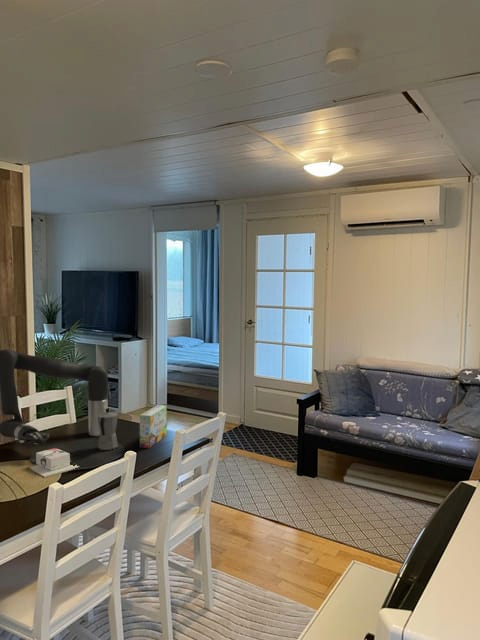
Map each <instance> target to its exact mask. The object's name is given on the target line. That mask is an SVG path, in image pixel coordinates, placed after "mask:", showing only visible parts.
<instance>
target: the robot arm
mask: <svg viewBox="0 0 480 640" xmlns="http://www.w3.org/2000/svg"><path fill="white" fill-rule="evenodd" d="M15 370H21V371H27V372H30V373H33V374H36V375H39V376H43V377H46V378H53V379H63V380H64V379H67V380H68V379H70V380H71V379H74V380H75V379H76V380H80V381H85V382H87V383H88V384H87V385H88V387H87V388H88V389H87V390H88V392H87V398H88V400H87V402H88V403H87V405H88V406H87V407H88V411H87V412H88V413H87V414H88V435H89V436H91V437H92V436H93V437H99V435H100V430H99V423H98V417H97V415H98V414H101V413H105V412H106V409H107V408H108V407H109V404H108V397H109V396H108V395H109V379H108V378H109V376H108V373H107V371H106V369H105V368H103V367H102V366H100V365H87V364H86V365H85V364H78V363H77V362H76V363H75V362H72V361H70V360H69V361H68V360H64V359H60V358H55V357H48V356H41V355H31V354H25V353H22V352H19V351H18V352H17V351H15V350H12V349H9V348H4V349H1V350H0V406H1V414H2V415H5V416H7V415H8V416H13V418H12V419H11V418H10V419H6V420H2V421H1V422H0V435H2V436H3V437H5V438H14V439H16V440H18V441H19V445H27V446H28V445H30V446H32V445H34V444H35V445H40V446H44V445H46V443H47V441H48V439H49V438H50V432H49V431H47V432H45V433H43V432H40V431H39V429H37V428H36V427H34V426H31V425H30V424H26V423H25V421H24V420H23V417H22V415H21V411H20V408H19V401H18V399H19V398H18V392H17V387H16V382H15V380H16V379H15Z"/></svg>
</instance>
